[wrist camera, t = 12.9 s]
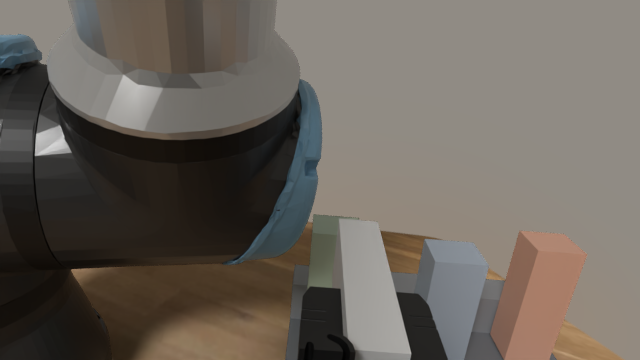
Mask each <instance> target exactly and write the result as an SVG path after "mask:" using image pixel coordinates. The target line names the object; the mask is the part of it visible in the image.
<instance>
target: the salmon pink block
mask: <svg viewBox="0 0 640 360" xmlns="http://www.w3.org/2000/svg"><path fill="white" fill-rule="evenodd" d="M586 257H587V254H586V253H585V252H584V251H583V250H582V249H580V248H579V247H578V246H577V245H576V244H575V243H573V242H572V241H571V240H570V239H569V238H568V237H567V236H566V235H564V234H555V233H542V232H541V233H540V232H529V231H519V235H518V238H517V242H516V245H515V249H514V252H513V256H512V259H511V262H510V266H509V269H508V273H507V276H506V280H505V283H504V287H503V290H502V294H501V297H500V301H499V304H498V308H497V311H496V315H495V318H494V321H493V325H492V328H491V332H490V335H491V337H492V339H493V340H494V342H495V344H496V346H497V348H498V350H499V352H500V354H501V355H502V357H503V359H504V360H549V359H550V356H551V354H552V351H553V348H554V345H555V342H556V340H557V337H558V334H559V331H560V329H561V326H562V323H563V320H564V318H565V315H566V312H567V309H568V307H569V304H570V301H571V298H572V295H573V293H574V290H575V287H576V284H577V281H578V279H579V276H580V273H581V270H582V268H583V265H584V262H585V259H586Z"/></svg>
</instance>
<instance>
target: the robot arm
mask: <svg viewBox="0 0 640 360" xmlns="http://www.w3.org/2000/svg"><path fill="white" fill-rule="evenodd" d="M68 2H69V6H70V10H71V14H72V17H73V21H74V23H73V24H72V25H71V26H70V27H69V29H68V30H67V31H66V32H65V33H64V34H63V35H62V36H61V37H60V38H59V39H58V40H57V41H56V42H55V44H54V46H53V47H52V49H51V50H50V53H49V56H48V59H47V65H44V64H41V63H40V62H39V61H40V60H41V59H42V53H41V52H40V51H39V50H38V49H37V47H36V45H35V43H34V41H33V40H32V39H31V38H30V37H29V36H26V35H21V34H18V35H0V360H112V356H111V348H110V340H109V334H108V330H107V327H106V325H105V323H104V321H103V319H102V318H101V316H100V315H99V314H98V312H97V311H96V310H95V309H94V308H93V307H92V305H91V304H90V302H89V300H88V298H87V297H86V295H85V293H84V291H83V290H82V288H81V287H80V285H79V283H78V282H77V280H76V279H75V277H74V275H73V273H72V271H71V269H82V268H104V267H126V266H158V265H189V264H223V265H234V264H239V263H241V262H243V261H246V260H257V259H267V258H273V257H277V256H279V255H282V254H283V253H285V252H287V251H288V250H289V249H290V248H291V247H292V246H293V245H294V244H295V243H296V242H297V240H298V239H299V237H300V236H301V234H302V232H303V230H304V228H305V226H306V224H307V221H308V219H309V216H310V213H311V210H312V206H313V203H314V199H315V194H316V190H317V184H318V176H317V172H316V167H317V164H318V162H319V160H320V158H321V147H322V122H321V113H320V107H319V102H318V99H317V95H316V93H315V91H314V89H313V88H312V87H311V85H310V84H309V83H308V82H306V81H304V80H301V79H300V67H299V63H298V60H297V58H296V56H295V54H294V52H293V51H292V49H291V48H290V47H289V46H288V44H287V43H286V42H285V41H284V40H283V39H282V38H281V37H280V36H279V35H278V34H277V32H276V31H275V30H274V26H275V15H276V4H277V0H68ZM436 328H437V327H436V324H435V321H434V320H433V316H432V313H431V310H430V307H429V305H428V304H427V303H426V301H425V300H424V299H423V298H422V297H421V296H420V295H419V294H416V293H403V292H396V291H395V287H394V283H393V280H392V276H391V272H390V268H389V264H388V260H387V256H386V252H385V248H384V244H383V240H382V236H381V232H380V229H379V225H378V222H375V221H363V220H352V219H340V218H339V223H338V232H337V240H336V248H335V257H334V265H333V273H332V288H326V287H313V286H310V287H309V288H308V290H307V291H306V292H305V294H304V295H303V298H302V309H301V320H300V332H299V345H298V358H297V360H448V358H447V355H446V352H445V350H444V347H443V344H442V341H441V338H440V336H439V333H438V330H437V329H436Z"/></svg>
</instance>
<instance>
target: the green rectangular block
mask: <svg viewBox="0 0 640 360" xmlns="http://www.w3.org/2000/svg"><path fill="white" fill-rule="evenodd" d="M339 218H340V219H352V220H359V218H352V217H340V216H327V215H313V227H312V239H311V251H310V263H309V274H308V286H307V290H308V288H309V287H310V286H313V287H326V288H332V273H333V265H334V257H335V248H336V240H337V232H338V223H339Z"/></svg>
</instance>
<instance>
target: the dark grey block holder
mask: <svg viewBox="0 0 640 360" xmlns="http://www.w3.org/2000/svg"><path fill="white" fill-rule="evenodd" d="M308 274H309V266H307V265H295V269H294V277H293V286H292V300H291V314H290V325H289V333H288V342H287V350H286V359H285V360H297V358H298V345H299V332H300V320H301V309H302V298H303V295H304V294H305V292H306V291H307V286H308ZM417 275H418V274H411V273H398V272H391V276H392V280H393V283H394V287H395V291H396V292H403V293H414V290H415V285H416V280H417ZM504 283H505V281H502V280H489V279H485V283H484V287H483V290H482V294H481V298H480V302H479V305H478V309H477V313H476V317H475V320H474V324H473V328H472V332H471V335H470V339H469V343H468V347H467V350H466V354H465V358H464V360H504V359H503V357H502V355H501V354H500V352H499V350H498V348H497V346H496V344H495V342H494V340H493V339H492V337H491V335H490V332H491V328H492V325H493V321H494V318H495V315H496V311H497V308H498V304H499V301H500V297H501V294H502V290H503V287H504ZM549 360H557V359H556V358H555V357H554V355H553V354H551V356H550V359H549Z"/></svg>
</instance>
